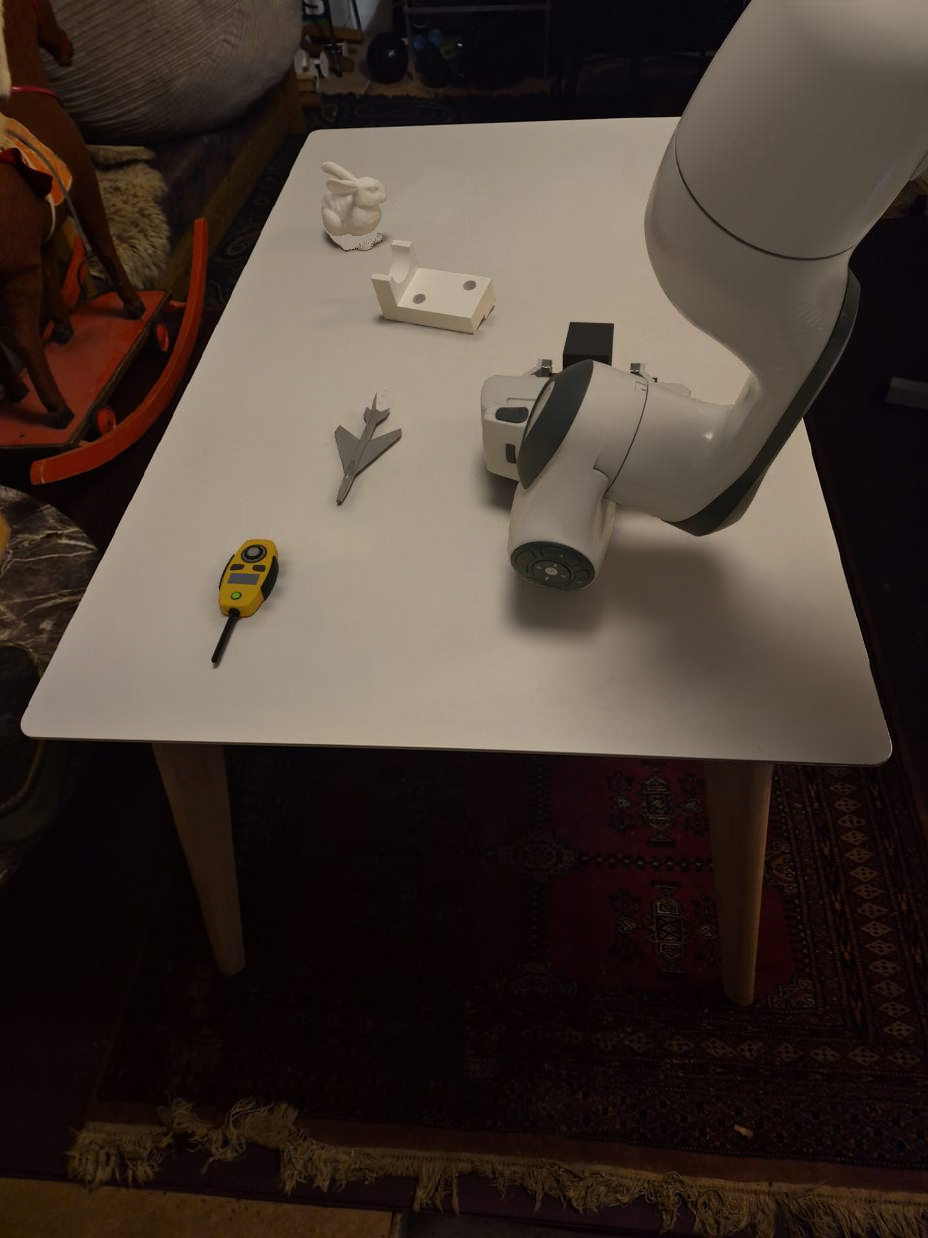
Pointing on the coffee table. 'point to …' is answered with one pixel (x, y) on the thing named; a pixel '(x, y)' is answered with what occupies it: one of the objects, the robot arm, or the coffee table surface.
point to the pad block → (588, 343)
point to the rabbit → (351, 203)
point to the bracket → (432, 293)
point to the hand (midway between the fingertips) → (591, 366)
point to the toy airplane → (361, 446)
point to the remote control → (246, 583)
